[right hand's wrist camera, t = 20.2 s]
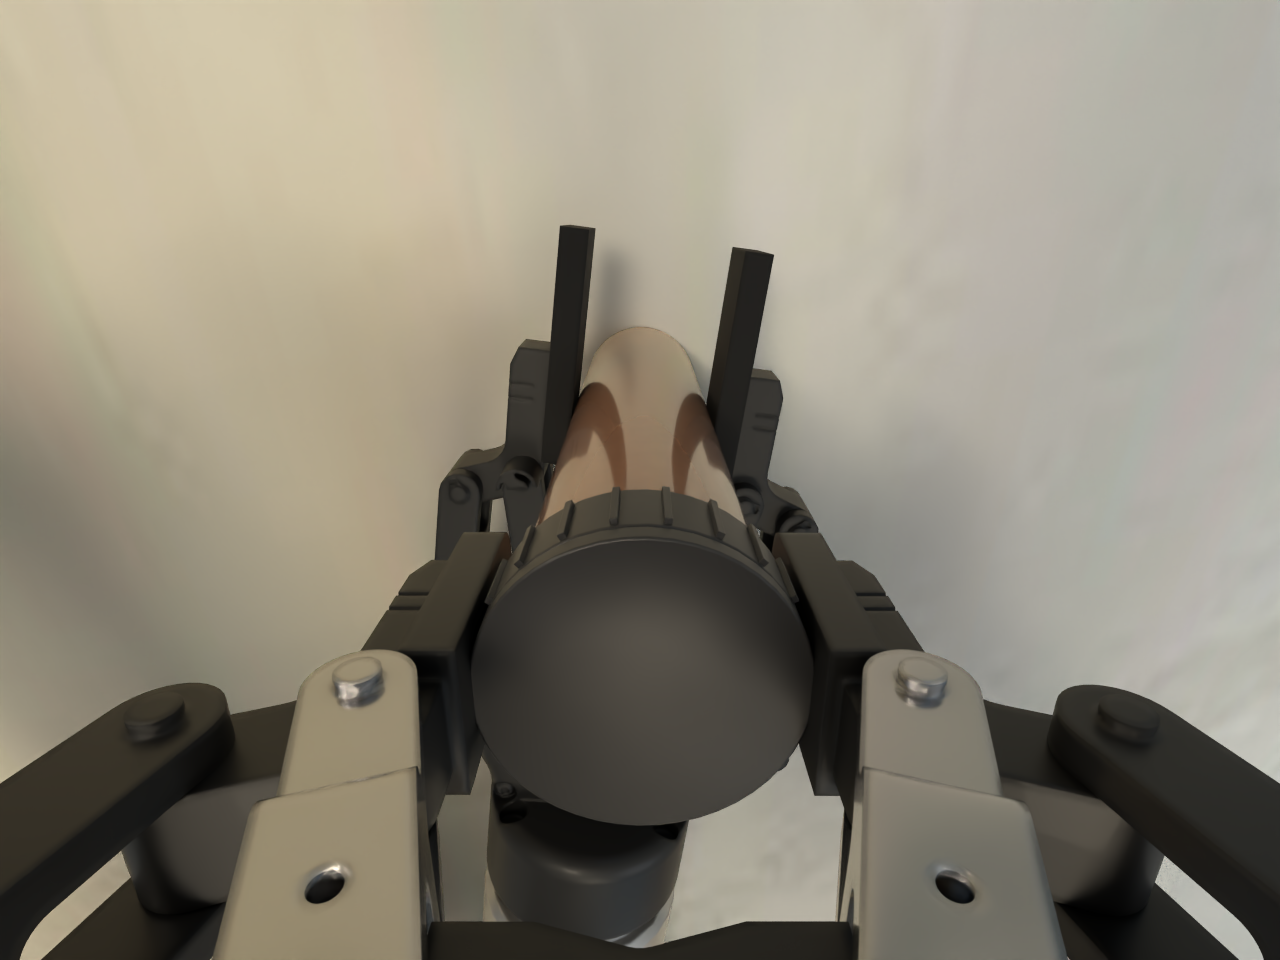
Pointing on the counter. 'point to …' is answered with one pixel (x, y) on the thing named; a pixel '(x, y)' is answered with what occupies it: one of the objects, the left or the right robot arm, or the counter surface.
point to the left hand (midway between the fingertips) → (665, 240)
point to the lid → (642, 660)
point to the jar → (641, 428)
